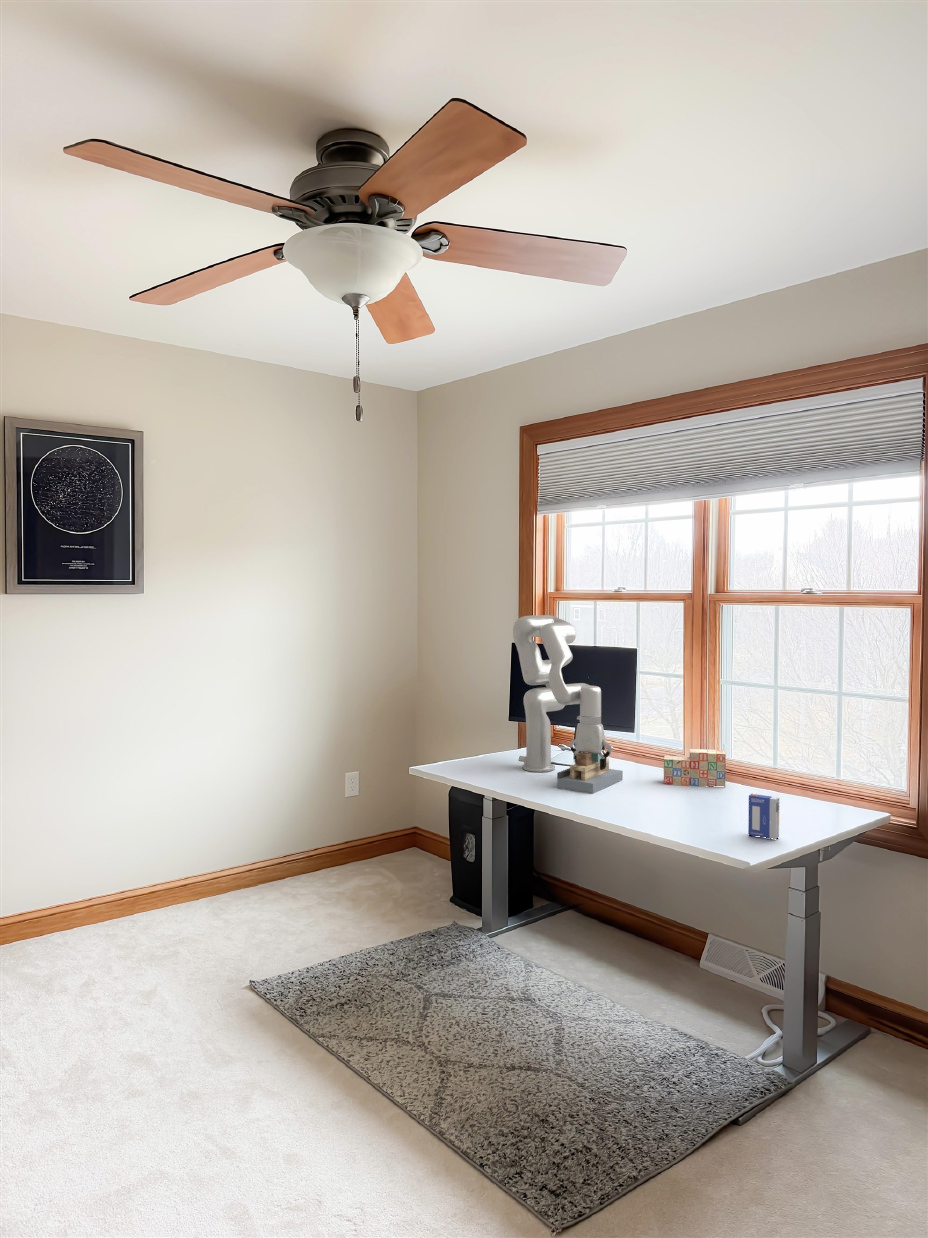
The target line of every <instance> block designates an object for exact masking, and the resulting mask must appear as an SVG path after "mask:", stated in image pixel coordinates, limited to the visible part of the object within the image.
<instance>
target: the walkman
mask: <svg viewBox="0 0 928 1238" xmlns="http://www.w3.org/2000/svg"><path fill="white" fill-rule="evenodd" d="M747 828H748V834H749V835H752V836H751V837H753V836H760V837H766V838H773V839H776V838H778V837H779V838H780V797H778V796H772V795H764V794H757V793H750V794H749V795H748V827H747Z"/></svg>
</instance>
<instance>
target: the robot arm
mask: <svg viewBox="0 0 928 1238" xmlns="http://www.w3.org/2000/svg"><path fill="white" fill-rule="evenodd" d="M576 636H577V632H576V629H575V628H574V626H573V625H572V623H570V622H569V621H567V620H565V619H561V618H559V617H558V616H554V615H552V614H551V615H550V614H548V615H547V614H538V615H537V614H536V615H535V614H534V615H525V616H524V615H523V616H521V617H519V618H518V619H516V620H515V622H514V623H513V627H512V639H513V641H514V644H515V646H516V650H517V653H518V658H519V663H520V668H521V673H522V677H523V681H524V682H525V684H527V685H529V686H539V685H540V686H541V685H545V687H536V688H532V689H529V690H528V691H526V692H525V694H524V696H523V706H524V707H523V708H524V713H525V726H526V727H525V730H526V731H525V734H526V736H525V737H526V739H525V741H526V743H525V744H526V745H525V746H526V747H525V748H526V749H525V751H526V754H525V755H526V756H524V755H519V756H518V762H521V763H522V762H523V764H522V770H525V771H527V772H534V773H544V772H551V771H554V770H555V768H556V766H555V765H554V764H552V759H551V758H552V755H551V754H552V751H551V750H552V741H551V739H552V733H551V732H552V731H551V729H552V727H551V721H550V718H549V716H548V715H547V712H557V711H561V710H563V709H564V708H565V706H569V705H571V706H572V705H579V715H577V716H576V720H577V721H578V720H579V723H577V726H576V731H575V738H574V739H572V740H571V741H569V742H568V746H569V747H570V751H571V752H572V753H573V755H574V764H576V754H577V753H580V752H586V753H598V754H599V755H600V757H601V759H600V770H603V769H605V768H606V758H608V757H609V756H610V755H612V752H613V749H614V746H612V745H611V744H610V743H608V742H606V736H605V730H604V725H603V724H602V690H601V689H602V688H601V687H599V686H597V685H590V684H588V683H584V682H580V683H579V682H578V683H577V682H576V683H565V681H564V678H563V673H562V668H563V667H565V666H567V665H568V664H570V663H571V662H572V661H573V657H574V656H573V653H572V651H571V649H570V647H569V644H571V643H574V641H575V639H576ZM533 638H540V641H542V642H541V643H542V644H543V647H544V649H545V652H546V655H547V656H548V659H545V660H543V659H542V654H541V650H540V647H539V645H538V644H537V643H536V641H535V640H534V639H533ZM606 749H607V751H605V750H606Z"/></svg>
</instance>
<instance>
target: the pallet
mask: <svg viewBox="0 0 928 1238" xmlns="http://www.w3.org/2000/svg"><path fill="white" fill-rule="evenodd" d="M569 768H570V779H575V778H578V777H580V776H581V780H584V781H586V780H588V779H590V778H593V777H595V776H597V775H600V774H602V773H604V772H607V771H609V769H610V758H608V757H607V758H606V768H605V769H603V770H600V761H599V762H596V761H592V764H591V765H589V766H580V765H576V763H574V764H572V765H570V766H569Z"/></svg>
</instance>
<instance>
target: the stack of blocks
mask: <svg viewBox="0 0 928 1238" xmlns="http://www.w3.org/2000/svg"><path fill="white" fill-rule="evenodd" d="M726 760H727V759H726V751H725V750H717V749H698V748H697V749H696V748H689V756H677V755H675V756H673V755H664V756H663V784H664V785H673V786H686V787H689V786H691V787H704V786H725V787H726V774H727V773H726V771H727V770H726V769H727V768H726V767H727V762H726Z"/></svg>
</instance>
